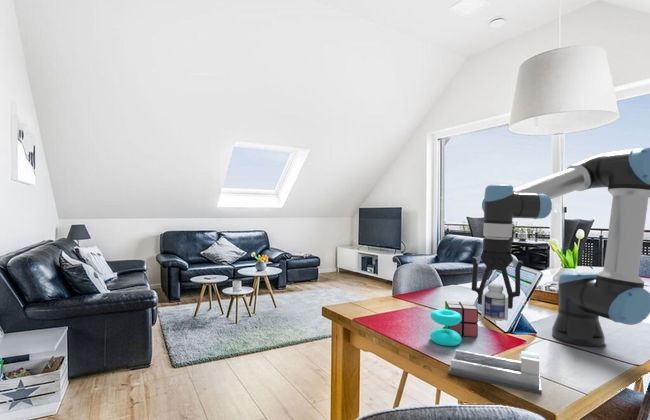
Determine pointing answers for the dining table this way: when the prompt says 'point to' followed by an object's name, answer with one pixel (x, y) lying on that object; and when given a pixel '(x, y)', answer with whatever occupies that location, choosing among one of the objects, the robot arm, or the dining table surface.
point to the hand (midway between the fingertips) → (494, 317)
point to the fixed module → (530, 363)
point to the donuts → (446, 335)
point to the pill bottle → (495, 303)
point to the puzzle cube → (464, 318)
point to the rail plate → (493, 371)
